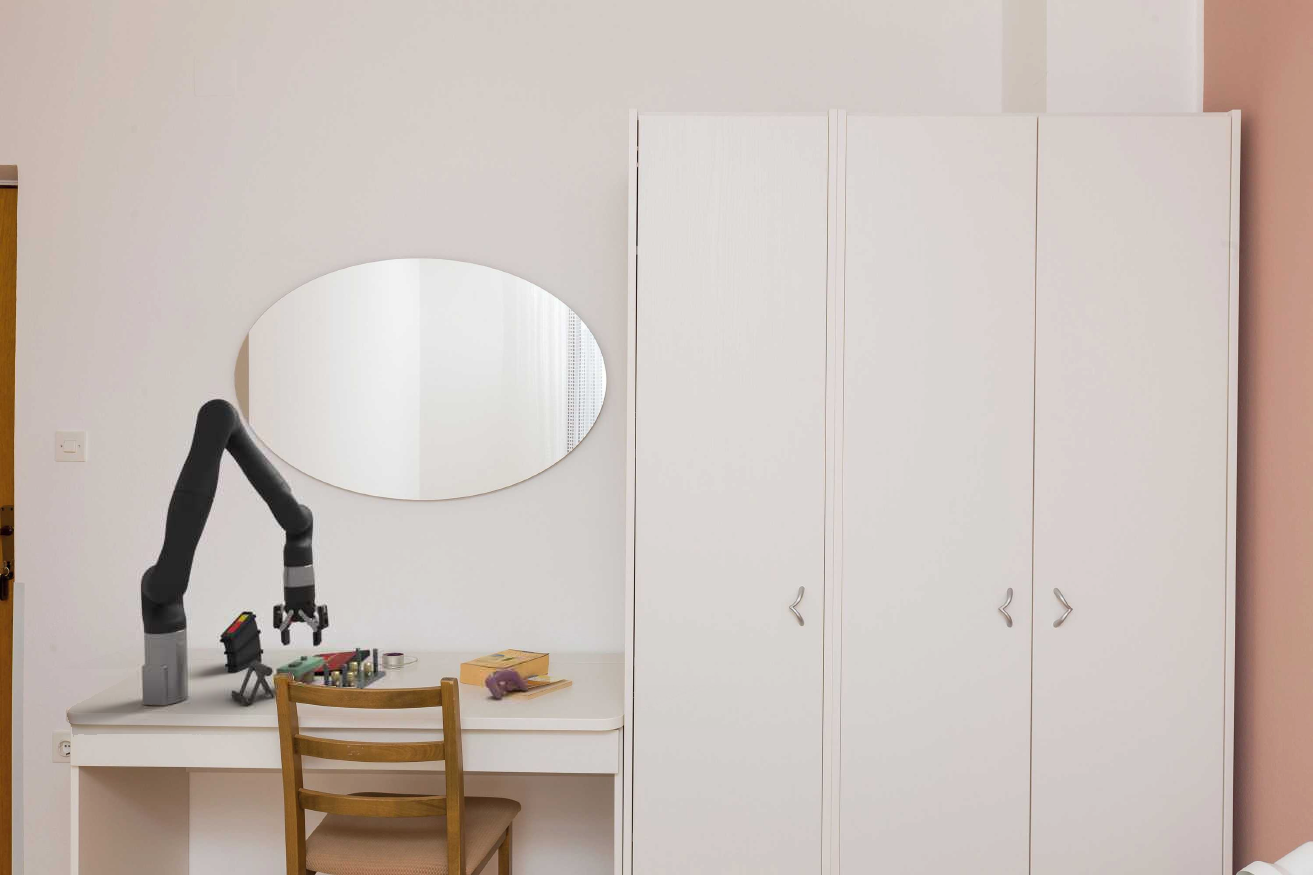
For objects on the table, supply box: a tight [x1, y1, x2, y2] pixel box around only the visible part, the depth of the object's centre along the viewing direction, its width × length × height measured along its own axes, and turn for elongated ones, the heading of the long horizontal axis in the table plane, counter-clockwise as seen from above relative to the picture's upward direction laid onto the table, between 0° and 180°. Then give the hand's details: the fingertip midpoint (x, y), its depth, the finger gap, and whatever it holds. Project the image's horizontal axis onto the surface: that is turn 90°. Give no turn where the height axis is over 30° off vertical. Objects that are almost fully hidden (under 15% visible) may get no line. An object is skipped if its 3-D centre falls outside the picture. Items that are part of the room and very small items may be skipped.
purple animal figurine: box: [484, 668, 528, 700], centre depth 227 cm, size 10×5×7 cm, turn 141°
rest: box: [294, 669, 315, 684], centre depth 237 cm, size 8×2×4 cm, turn 169°
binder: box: [311, 649, 371, 677], centre depth 255 cm, size 16×2×21 cm
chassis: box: [322, 647, 387, 689], centre depth 237 cm, size 17×10×7 cm, turn 169°
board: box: [276, 655, 324, 676], centre depth 237 cm, size 12×6×2 cm, turn 169°
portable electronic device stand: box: [231, 661, 275, 707], centre depth 225 cm, size 9×8×8 cm
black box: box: [219, 610, 264, 673], centre depth 254 cm, size 4×13×15 cm, turn 168°
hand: (301, 644), depth 237 cm, fingers open, 8 cm apart
